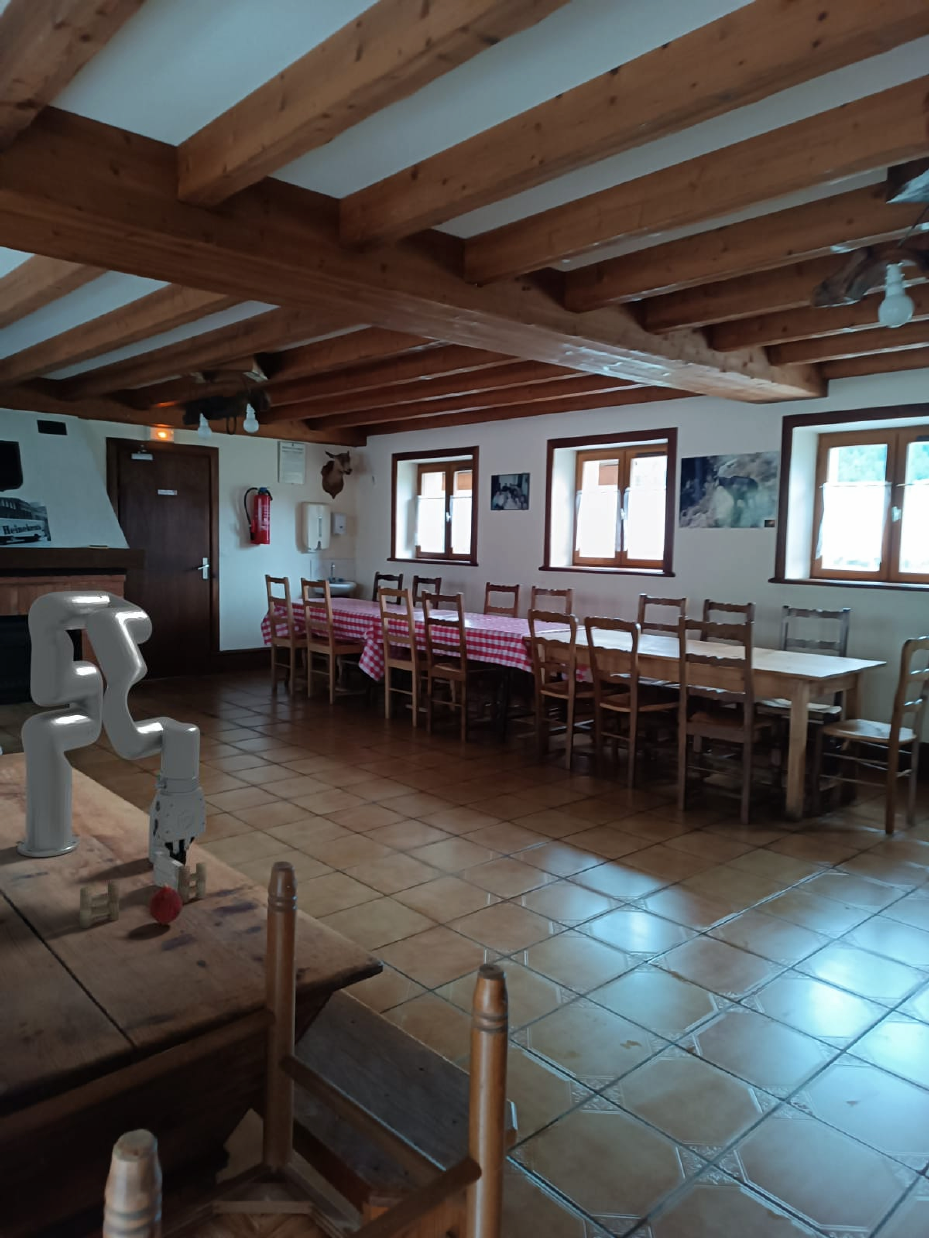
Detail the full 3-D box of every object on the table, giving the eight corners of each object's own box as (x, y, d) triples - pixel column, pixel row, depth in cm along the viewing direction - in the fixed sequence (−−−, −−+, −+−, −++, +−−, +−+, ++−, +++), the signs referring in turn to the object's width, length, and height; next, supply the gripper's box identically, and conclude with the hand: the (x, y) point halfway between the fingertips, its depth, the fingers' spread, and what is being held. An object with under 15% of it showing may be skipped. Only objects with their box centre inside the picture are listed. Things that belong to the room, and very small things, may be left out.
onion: (188, 921, 163) (189, 881, 162) (168, 934, 157) (169, 892, 157) (162, 915, 165) (163, 875, 164) (142, 927, 159) (143, 886, 158)
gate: (182, 894, 173) (183, 864, 172) (177, 895, 172) (178, 866, 171) (158, 879, 180) (159, 850, 179) (153, 880, 179) (153, 851, 178)
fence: (78, 924, 159) (78, 888, 158) (202, 894, 175) (203, 861, 175) (81, 928, 157) (82, 892, 157) (207, 897, 174) (208, 864, 173)
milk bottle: (173, 867, 188) (175, 779, 186) (141, 863, 189) (143, 775, 188) (190, 855, 195) (193, 770, 194) (160, 851, 197) (162, 766, 195)
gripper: (155, 794, 169) (153, 883, 171) (221, 781, 180) (218, 865, 182) (136, 785, 174) (134, 872, 175) (201, 773, 185) (199, 855, 187)
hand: (177, 868), depth 179 cm, fingers closed
